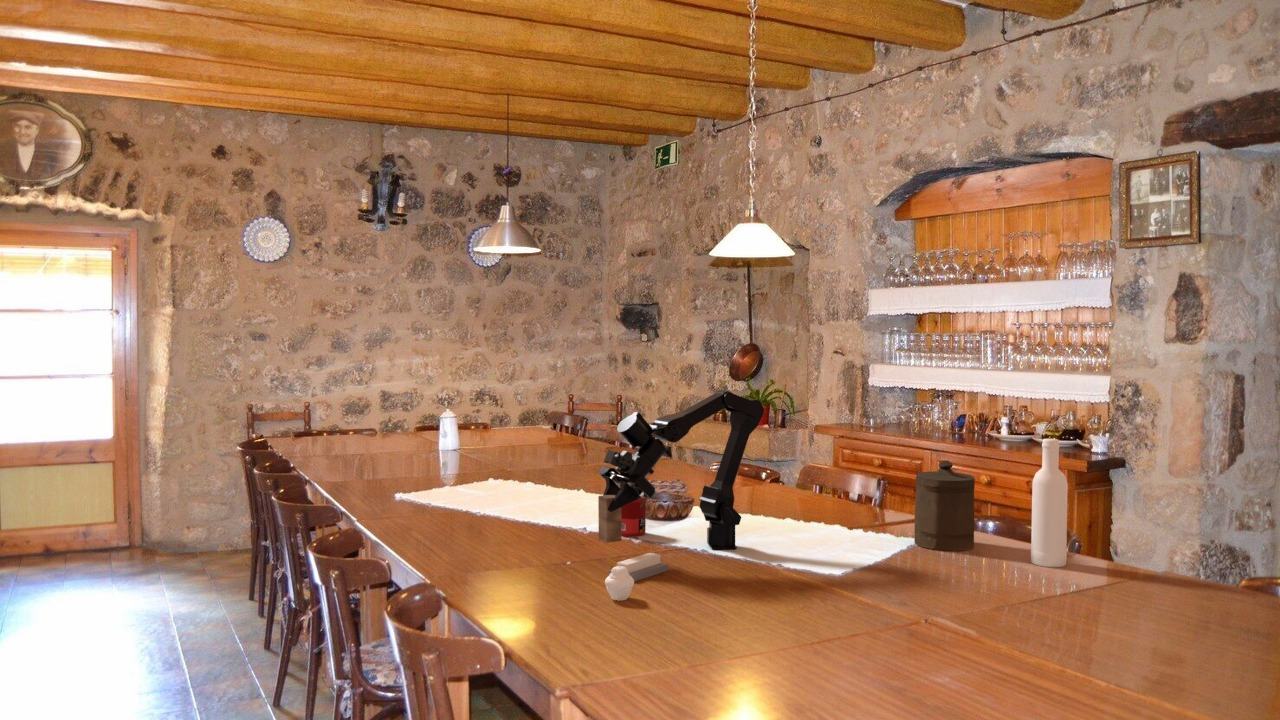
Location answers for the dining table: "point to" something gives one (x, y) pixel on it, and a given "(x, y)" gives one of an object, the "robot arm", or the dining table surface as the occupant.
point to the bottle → (1049, 510)
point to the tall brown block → (609, 520)
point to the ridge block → (643, 566)
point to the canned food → (634, 518)
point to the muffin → (619, 583)
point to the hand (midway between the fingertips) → (604, 509)
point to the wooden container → (944, 509)
